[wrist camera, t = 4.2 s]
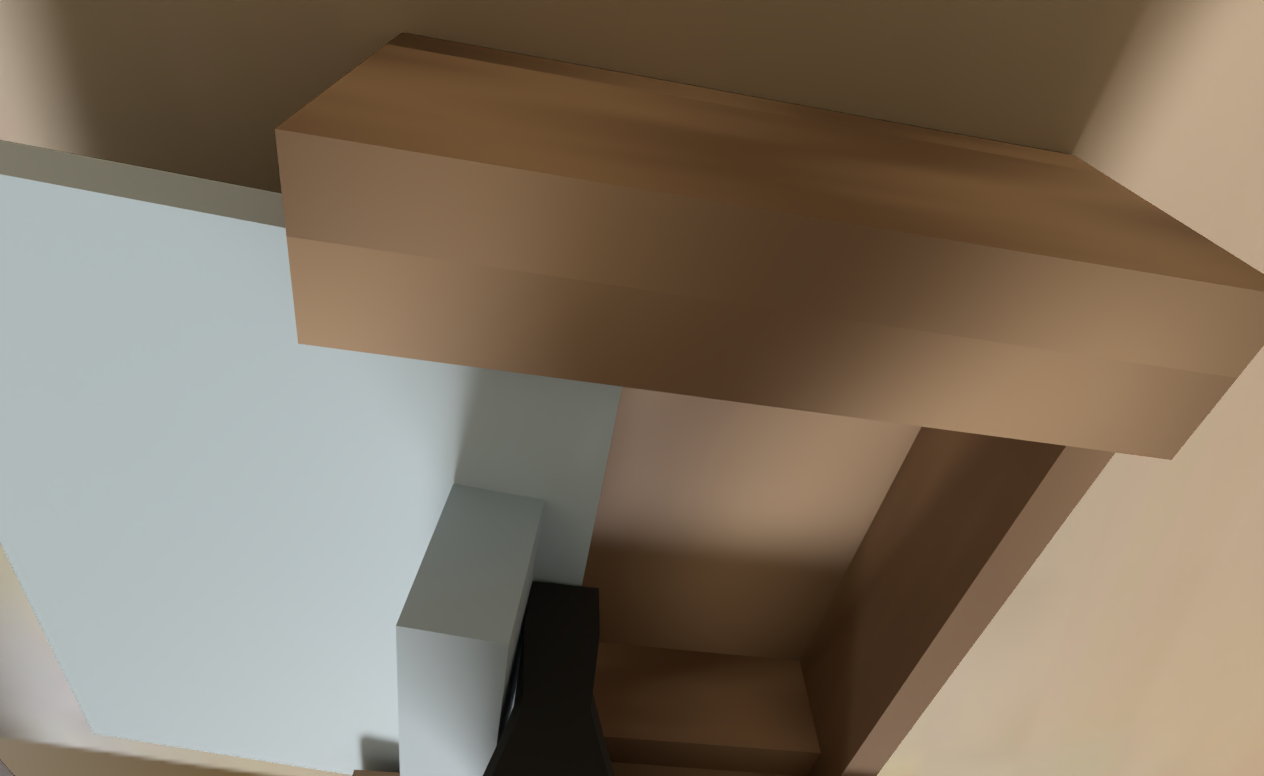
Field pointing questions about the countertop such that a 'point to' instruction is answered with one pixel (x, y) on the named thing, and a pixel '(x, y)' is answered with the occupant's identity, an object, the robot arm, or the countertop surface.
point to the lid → (264, 487)
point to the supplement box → (5, 770)
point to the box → (766, 364)
